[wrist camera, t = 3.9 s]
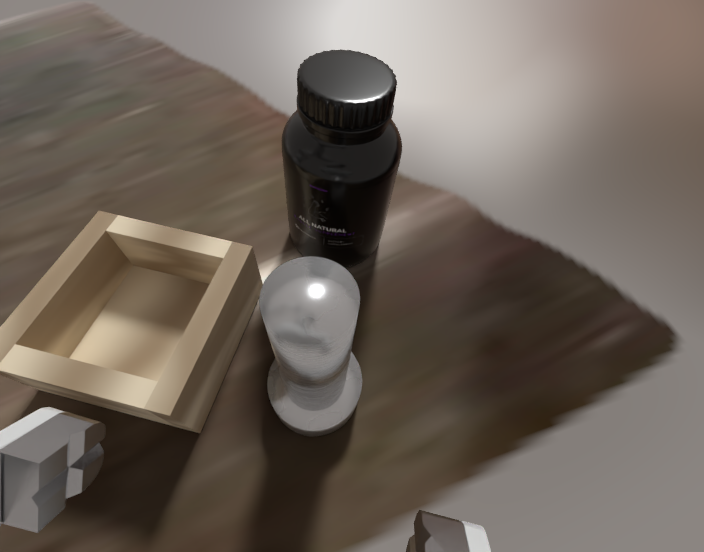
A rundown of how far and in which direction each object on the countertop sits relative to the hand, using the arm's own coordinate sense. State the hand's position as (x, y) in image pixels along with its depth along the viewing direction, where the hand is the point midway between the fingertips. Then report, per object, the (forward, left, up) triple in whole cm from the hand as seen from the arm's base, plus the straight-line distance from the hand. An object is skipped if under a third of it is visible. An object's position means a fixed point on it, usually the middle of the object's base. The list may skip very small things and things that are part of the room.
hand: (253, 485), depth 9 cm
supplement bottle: (-2, +17, -11) cm, 20 cm away
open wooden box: (-10, +6, -11) cm, 16 cm away
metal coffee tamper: (0, +5, -11) cm, 12 cm away
